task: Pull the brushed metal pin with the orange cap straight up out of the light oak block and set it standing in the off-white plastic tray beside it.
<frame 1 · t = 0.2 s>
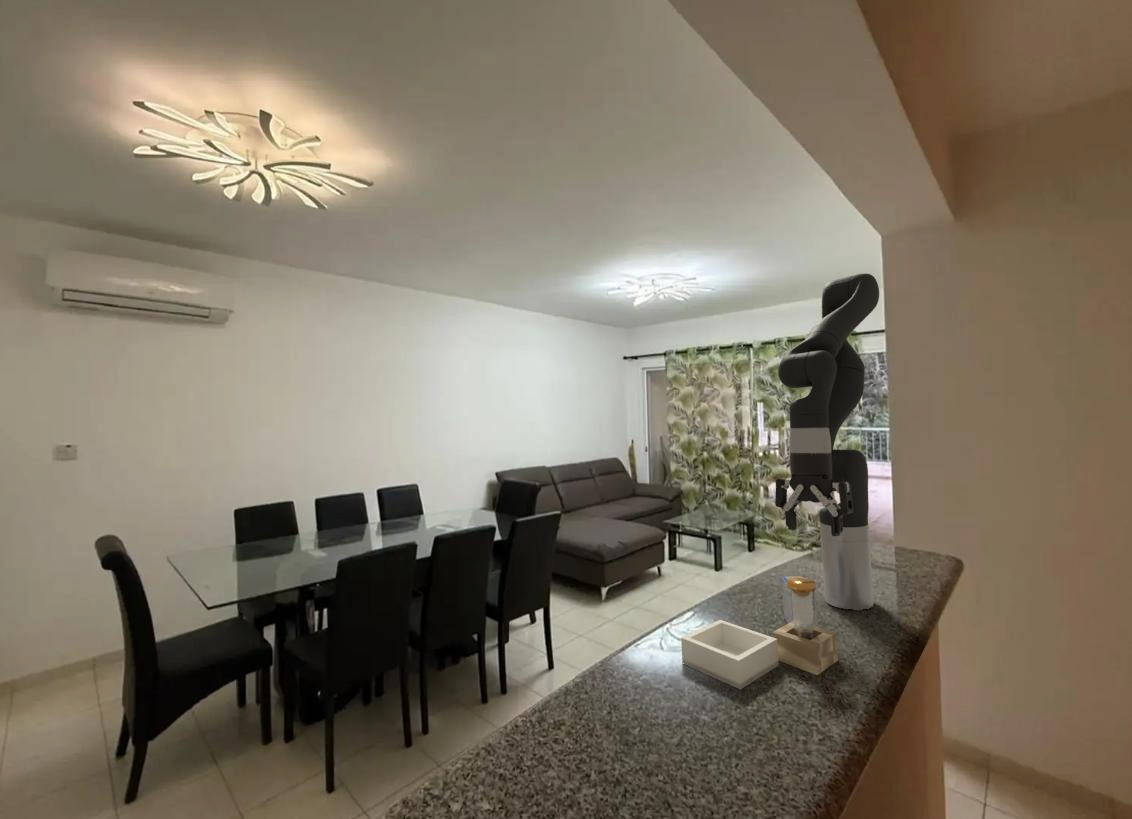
hand: (813, 532, 96), 18 cm above the counter, tool pointing down, fingers open, 8 cm apart
tray: (729, 664, 81), on the counter
pin: (803, 620, 81), in the pin block
medicine box: (800, 628, 94), on the counter
pin block: (805, 659, 81), on the counter
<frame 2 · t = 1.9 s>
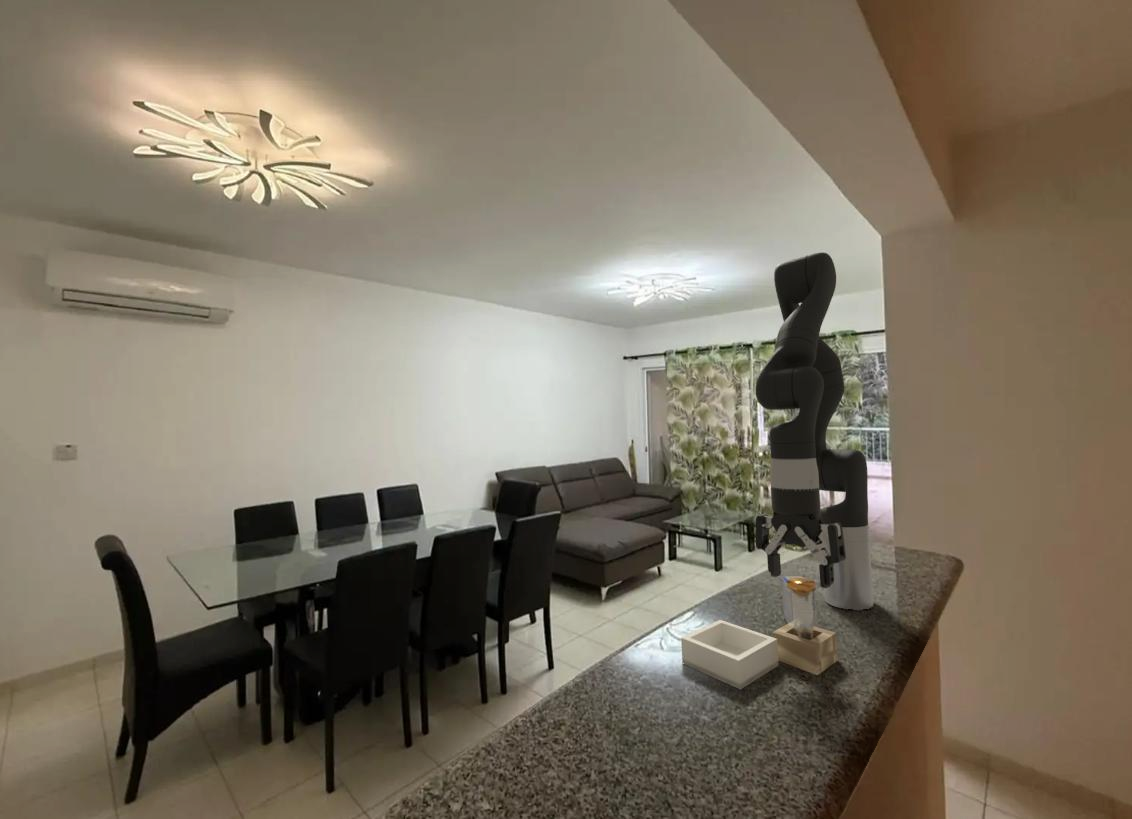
hand: (799, 581, 82), 13 cm above the counter, tool pointing down, fingers open, 8 cm apart
nothing on the counter moved.
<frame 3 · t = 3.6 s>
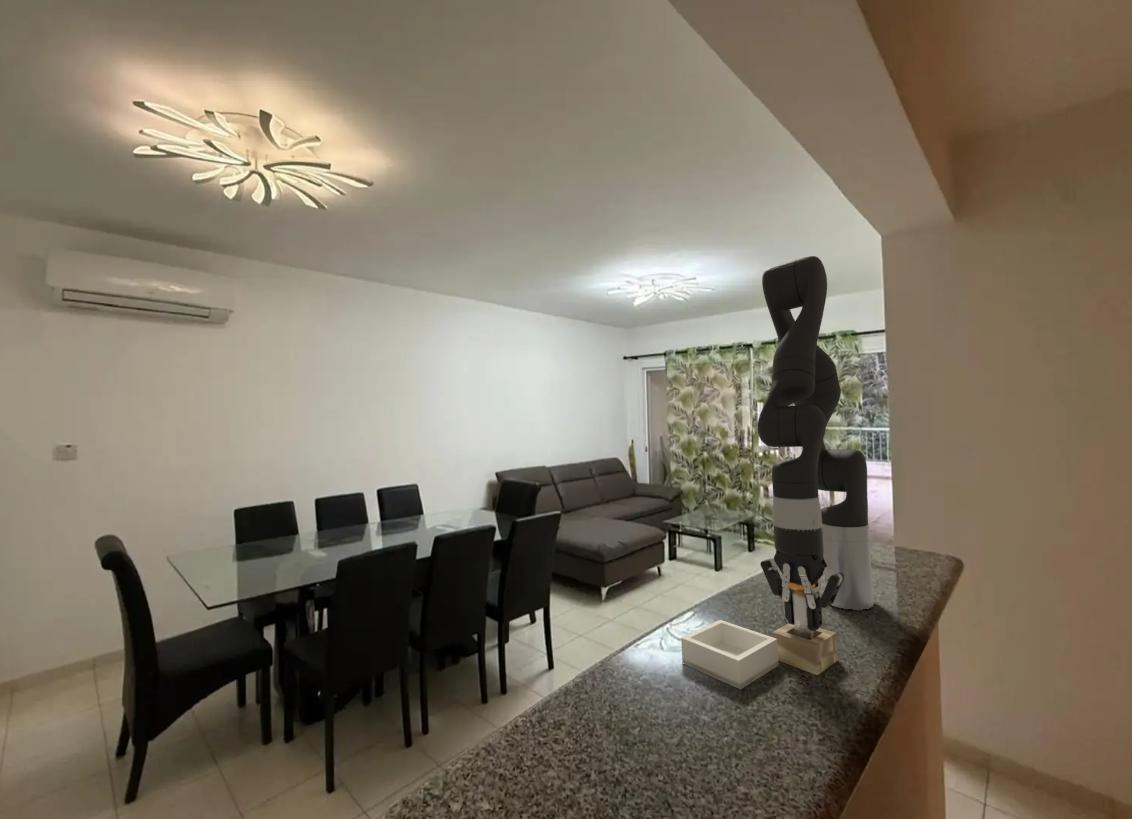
hand: (803, 625, 81), 6 cm above the counter, tool pointing down, fingers closed on pin, 3 cm apart
pin: (803, 620, 81), in the pin block, touching gripper
everything else where it was.
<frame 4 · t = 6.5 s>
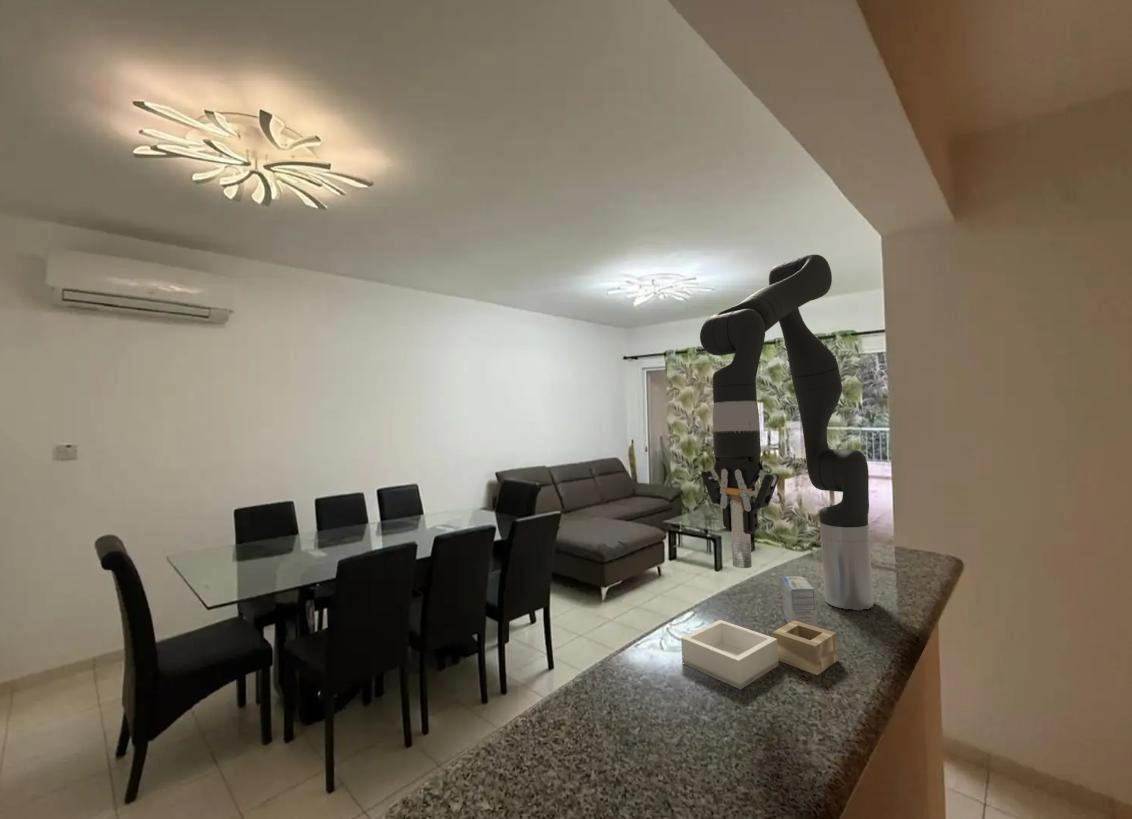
hand: (740, 531, 81), 22 cm above the counter, tool pointing down, fingers closed on pin, 3 cm apart
pin: (740, 526, 81), point 23 cm above the counter, touching gripper
everything else where it was.
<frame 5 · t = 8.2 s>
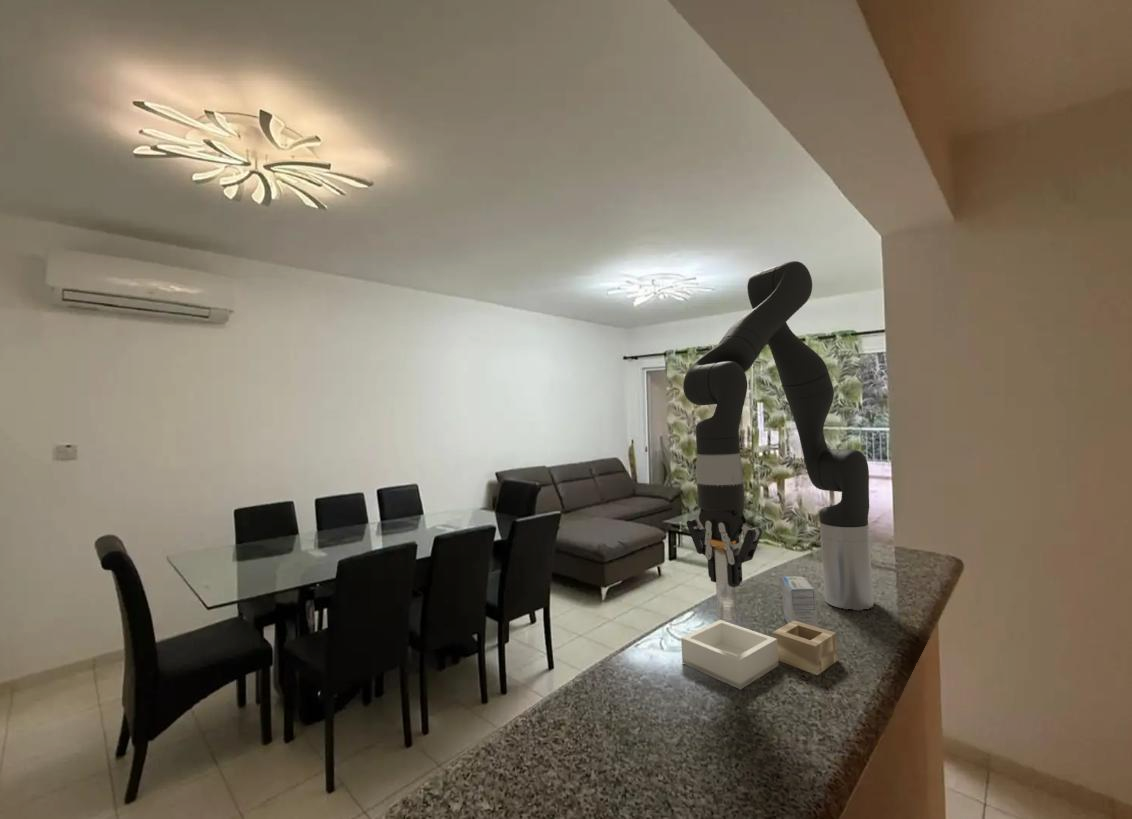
hand: (725, 582, 81), 13 cm above the counter, tool pointing down, fingers closed on pin, 3 cm apart
pin: (724, 577, 81), point 14 cm above the counter, touching gripper
everything else where it was.
when the fingers open (8 cm above the counter, at t = 9.5 s): pin drops 1 cm, resting on tray.
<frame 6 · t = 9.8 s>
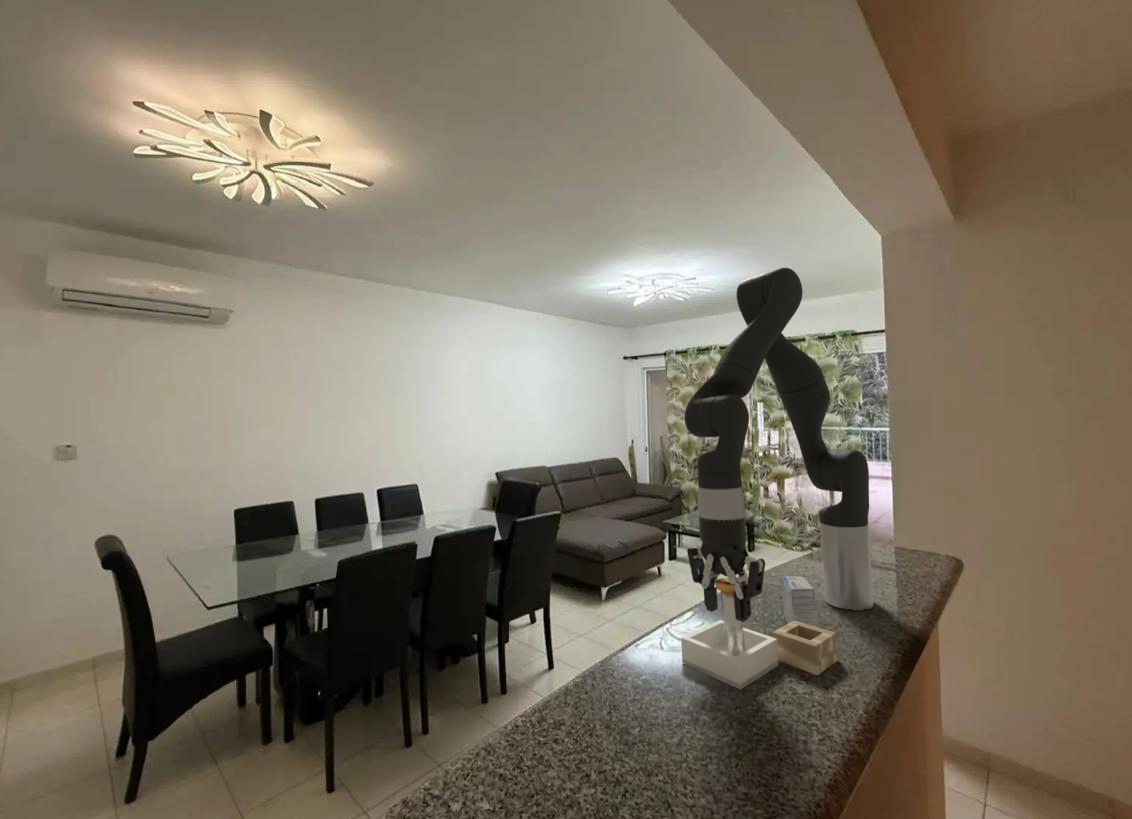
hand: (727, 614, 81), 8 cm above the counter, tool pointing down, fingers open, 5 cm apart
pin: (733, 621, 80), in the tray, point 7 cm above the counter
everything else where it was.
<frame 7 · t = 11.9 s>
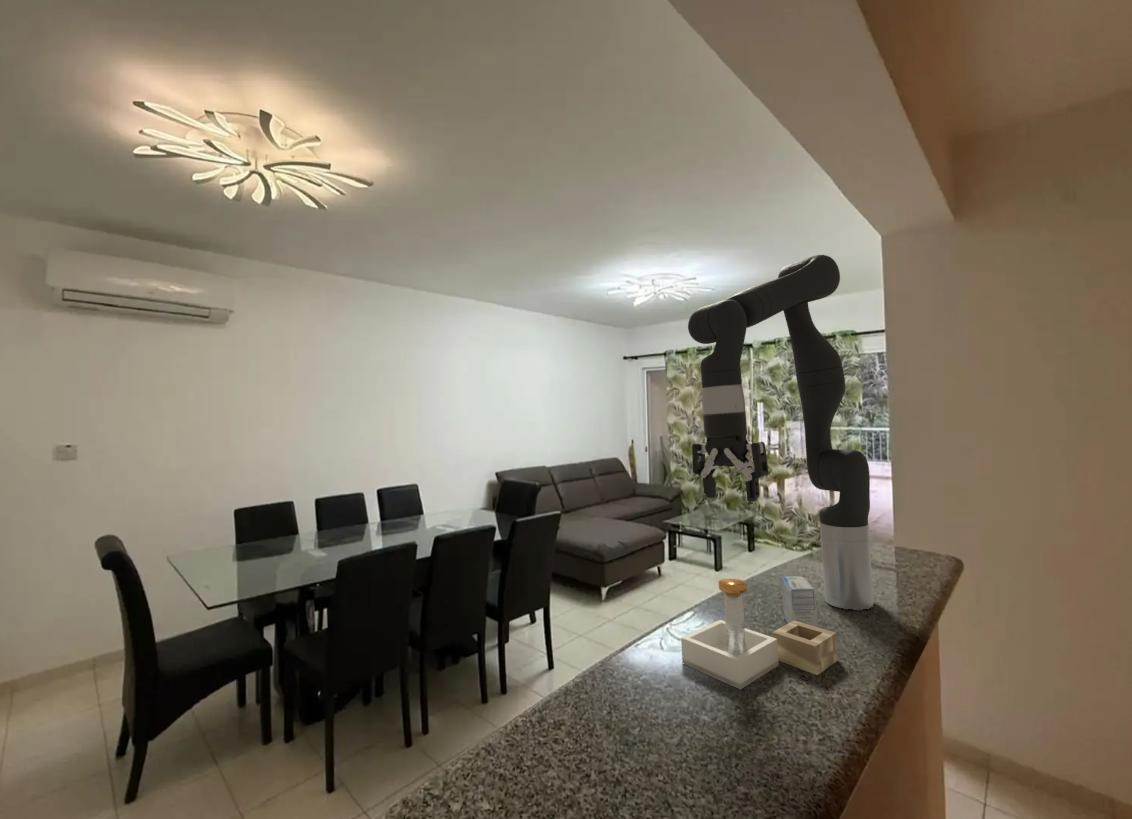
hand: (731, 499, 89), 26 cm above the counter, tool pointing down, fingers open, 8 cm apart
nothing on the counter moved.
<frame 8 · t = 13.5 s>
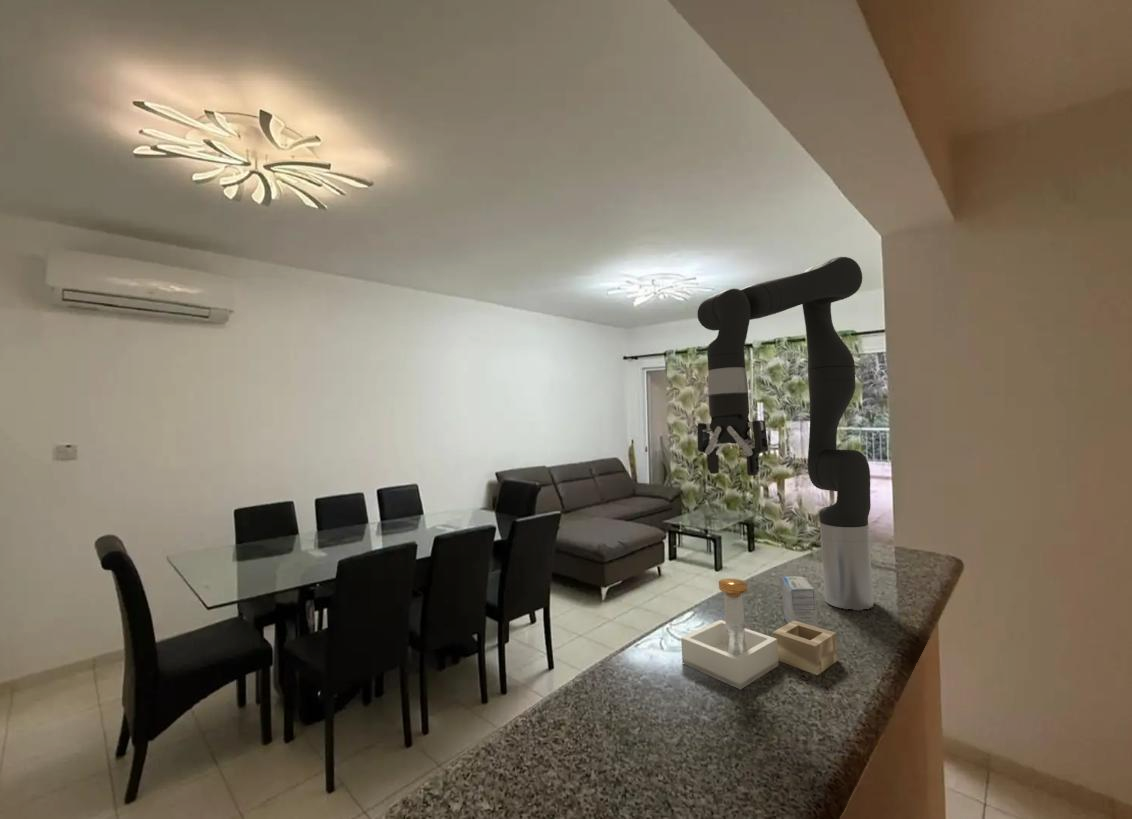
hand: (732, 474, 95), 30 cm above the counter, tool pointing down, fingers open, 8 cm apart
nothing on the counter moved.
at the end: pin inside the target area on the tray (1.4 cm from its centre), point 7.3 cm above the tray's base; the gripper is holding nothing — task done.
